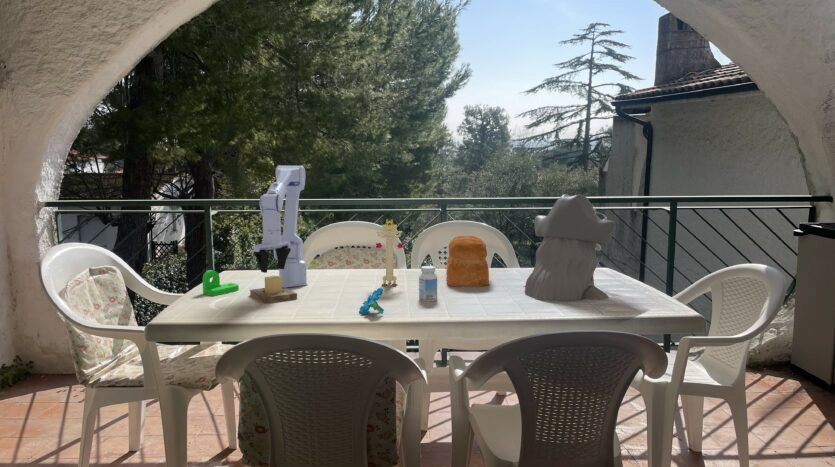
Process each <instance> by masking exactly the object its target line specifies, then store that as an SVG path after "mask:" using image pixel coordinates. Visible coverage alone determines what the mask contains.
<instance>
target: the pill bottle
mask: <svg viewBox="0 0 835 467" xmlns="http://www.w3.org/2000/svg"><path fill="white" fill-rule="evenodd" d="M420 271H421V273H420V274H419V275H418V288H419V289H418V299H419V301H423V302H434V301H437V300H438V275H437V273H435V272H436V267H435V266H434V265H423V266H421V268H420Z"/></svg>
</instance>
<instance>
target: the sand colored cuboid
mask: <svg viewBox="0 0 835 467" xmlns="http://www.w3.org/2000/svg"><path fill="white" fill-rule="evenodd" d="M264 288H265V293H266V294H274V293H282V277H280V276H279V275H269V276H265V277H264Z"/></svg>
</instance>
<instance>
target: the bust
mask: <svg viewBox="0 0 835 467" xmlns="http://www.w3.org/2000/svg"><path fill="white" fill-rule="evenodd" d="M596 209H597V207H595V208H593V205H592V203H591V201H590V200H589V198H588V197H586V196H585V195H584V194H580V193H578V194H574V195H570V194H568V193H564V194H562V195H561V196H560V197H559V198H558V199H557V200H556V201H555V203H554V204H553V206H552V208H551V209H550V211H549V212H548V214H547V215H535V218H534V233H535V236H536V237H543V239H542V242H540V245H539V247H537V249H536V251H535V265H534V267H533V270H532V273H531V272H530V274H529V276H528V277H527V278H526V281H525V284H524V285H523V288H524V287H525V288H524V294H525V295H526V296H528V297H531V299H534V300H538V301H539V300H540V301H543V302H544V301H545V302H547V301H549V302H564V303H568V302H570V303H571V302H581V300H582V299H584V300H593V301H594V300H597V301H598V300H599V301H602V300H606V299H609V298H610V296H608V294H606V293H605V292H604V291H603V290H601V289H599V288H597V287H596V286H595V282H594V281H595V280H594V274H595V273H594V272H595V271H596V269H597V263H598V262H597V256H596V254H597V253H596V251H599V252H600V251H601V250H602V246H601V245H600V244H599V243H603V244H610V243H611V240H612V237H613V232H615V227H616V221H613V220H610V219H608V217H607V215H605V214H603V213H601V212H598V211H596ZM597 214H600V215H603V217H604V218H603V219H601V218H600V217H599V216H598V215H597Z"/></svg>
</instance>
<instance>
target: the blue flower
mask: <svg viewBox="0 0 835 467" xmlns="http://www.w3.org/2000/svg"><path fill="white" fill-rule="evenodd" d="M382 287H383V286H382ZM382 287H378V288H377V289H376V290H373V292H372V294H369V295H368V296H367V300H364V301H363V303H362V304H363V305H361V306H360V307H359V311H358V313H359V314H365V313H366V312H369V311H370V308H371V309H373V310H374V311H377V312H378V313H380V314H381V315H383V314H384V311H385V309H383V308H382V307H381V306H380V305H379V304H378V302H377V301H379V299H380V298H381V297H380V296H382V295H383V293H384V288H382Z"/></svg>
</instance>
